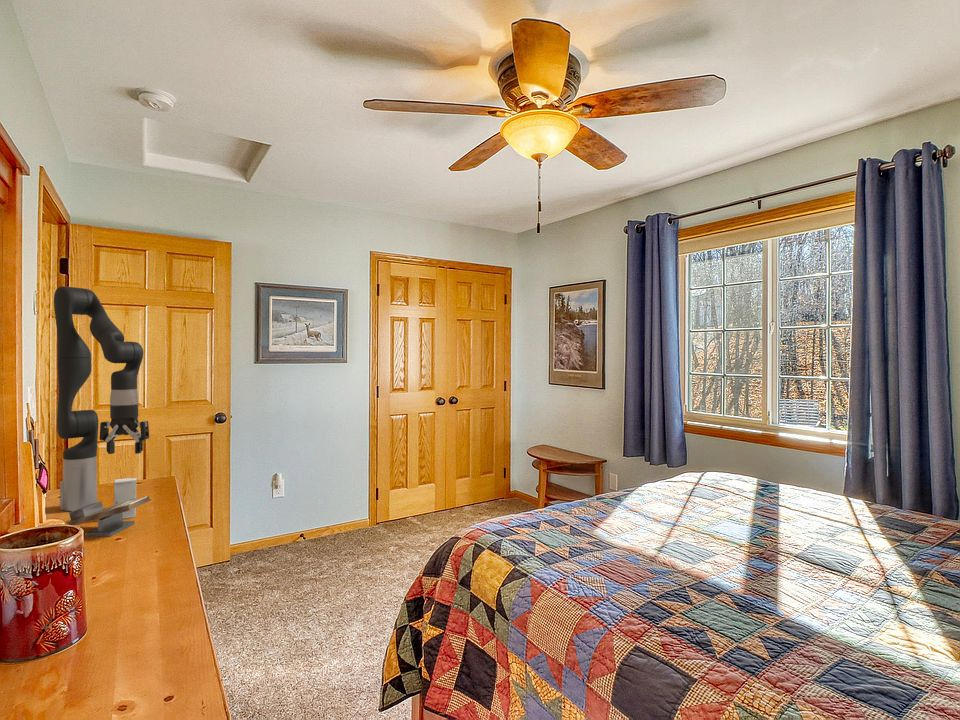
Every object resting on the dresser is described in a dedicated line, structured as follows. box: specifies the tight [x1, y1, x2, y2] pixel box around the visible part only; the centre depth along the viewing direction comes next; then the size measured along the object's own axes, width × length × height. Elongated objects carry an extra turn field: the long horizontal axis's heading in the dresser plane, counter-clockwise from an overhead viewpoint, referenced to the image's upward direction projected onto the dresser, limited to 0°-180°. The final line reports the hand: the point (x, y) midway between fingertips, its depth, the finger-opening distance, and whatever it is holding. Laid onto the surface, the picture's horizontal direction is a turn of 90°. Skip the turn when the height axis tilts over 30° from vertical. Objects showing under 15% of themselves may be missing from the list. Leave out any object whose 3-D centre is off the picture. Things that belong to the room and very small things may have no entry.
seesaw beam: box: [66, 495, 151, 526], centre depth 156 cm, size 18×10×4 cm, turn 91°
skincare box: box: [113, 477, 137, 519], centre depth 169 cm, size 6×4×12 cm
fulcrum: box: [84, 512, 135, 538], centre depth 156 cm, size 7×11×4 cm, turn 2°
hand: (124, 453), depth 169 cm, fingers open, 8 cm apart
